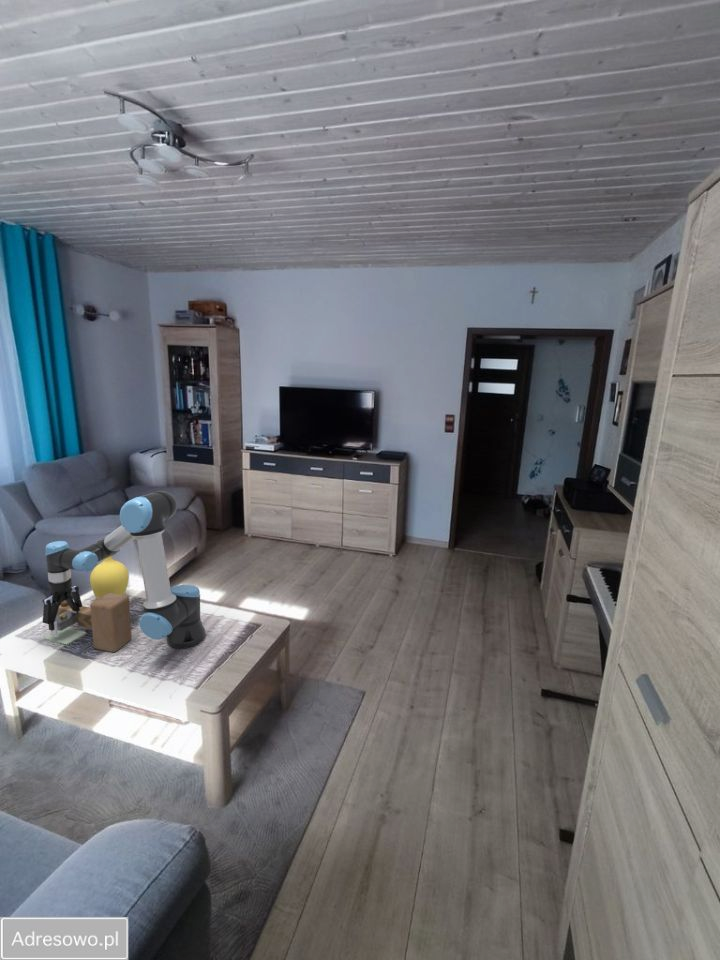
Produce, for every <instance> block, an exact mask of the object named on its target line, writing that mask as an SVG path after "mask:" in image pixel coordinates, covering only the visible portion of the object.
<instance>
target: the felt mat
mask: <svg viewBox="0 0 720 960" xmlns="http://www.w3.org/2000/svg"><path fill="white" fill-rule="evenodd" d="M86 634H88V633H87V631H82V630H78V629H75V628H71V627H67V628H65V629H64V630H62V631H58V637H53V636H51V633H50V634H49V635H46V636H45V637H43V640H46V641H50V642H52V641H53V642H54V643H56V642H57V643H56V644H60V643H62V644H61V645H63V644H66V645H65V646H68V645H69V643H70V644H71V642H72V641H73V642H75V641H77V640H78V639H81V638H82V637H83V636H85V635H86ZM76 639H77V640H76ZM74 640H75V641H74ZM73 642H72V643H73ZM67 644H68V645H67Z"/></svg>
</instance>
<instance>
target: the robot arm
mask: <svg viewBox="0 0 720 960" xmlns="http://www.w3.org/2000/svg"><path fill="white" fill-rule="evenodd" d="M177 510H178V501H177V499H176V498H175V496H174V495H173V494H172V493H170V492H168V491H164V490H156V491H154V492H150V493H148V494H147V493H146V494H144V495H141V496H135V497H134V498H132V499H130V500H128V501H126V502H125V503H124V504H123V505H122V507H121V508H120V512H119V521H120V524H121V525H120V526H119V527H117V528H116V529H115V530H113V531H112V532H111V533H109V534H107V535H106V536H105V537H104V538H102V539H101V540H100V541H98V542H95V543H93V544H90V545H88V546H85V547H82V548H80V549H72V548H70V546H69V543H68V542H67V541H64V540H58V541H52V542H50V543H47V544H46V546H45V554H44V556H45V561H46V568H47V569H46V570H47V571H46V572H47V577H48V579H47V580H48V590H49V592H50V595H49V597H48V598H43V600H42V602H43V603H42V604H43V613H42V624H46V625H48V630H49V631H50V634H51V636H53V637H58V629H57V622H56V621H55V619H56V615H57V612H58V608H59V606H60V605H61V602H63V601H65V600H66V602H67V603H68V605H69V606H70V608H71V609H72V610H73V611H72V610H71V611H70V612H73V613H78V611H79V610H80V607H82V606H83V603H82V600H81V596H80V592H79V591H80V590H79V589H80V588H79V586H77V585H73V582H72V570H73V571H78V572H90V571H91V572H92V571H93V569H94V568H95V567H96V566H97V565H98V563H99V562H101V561H104V559H105V558H108V557H110V556H112V557H113V556H114V555H116V554H118V553H119V552H120V551H121V549H122V548H124V547H125V546H126V545H128V544H130V543H131V542H133V540H135V541H136V546H137V547H136V548H137V552H138V557H139V563H140V568H141V574H142V579H143V585H144V592H145V596H146V600H145V601H144V602H143V604H142V607H143V614H141V617H140V618H139V621H138V624H139V628H140V630H141V632H142V633H143V634H144V635H146V636H147V637H148V638H149V639H152V640H162V639H164V638H166V644H167V646H169V647H171V648H174V649H188V648H189V649H190V648H191V647H195V646H197V645H198V644H200V643H202V642H203V641H204V640H205V639H206V629H205V627H204V625H203V621H202V619H201V593H200V592H201V591H200V588H199V587H198V586H196V585H194V584H193V585H192V584H179V585H174V586H172V587H171V583H170V577H169V572H168V571H169V570H168V566H167V560H166V558H167V557H166V552H165V547H164V541H163V535H162V534H163V533H164V532H165V531H166V525H165V521H167V520H169V519H171V518H172V517H174V516H175V514H176V512H177ZM72 626H73V627H75V626H78V622H76V623H75V624H73V625H72Z"/></svg>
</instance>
